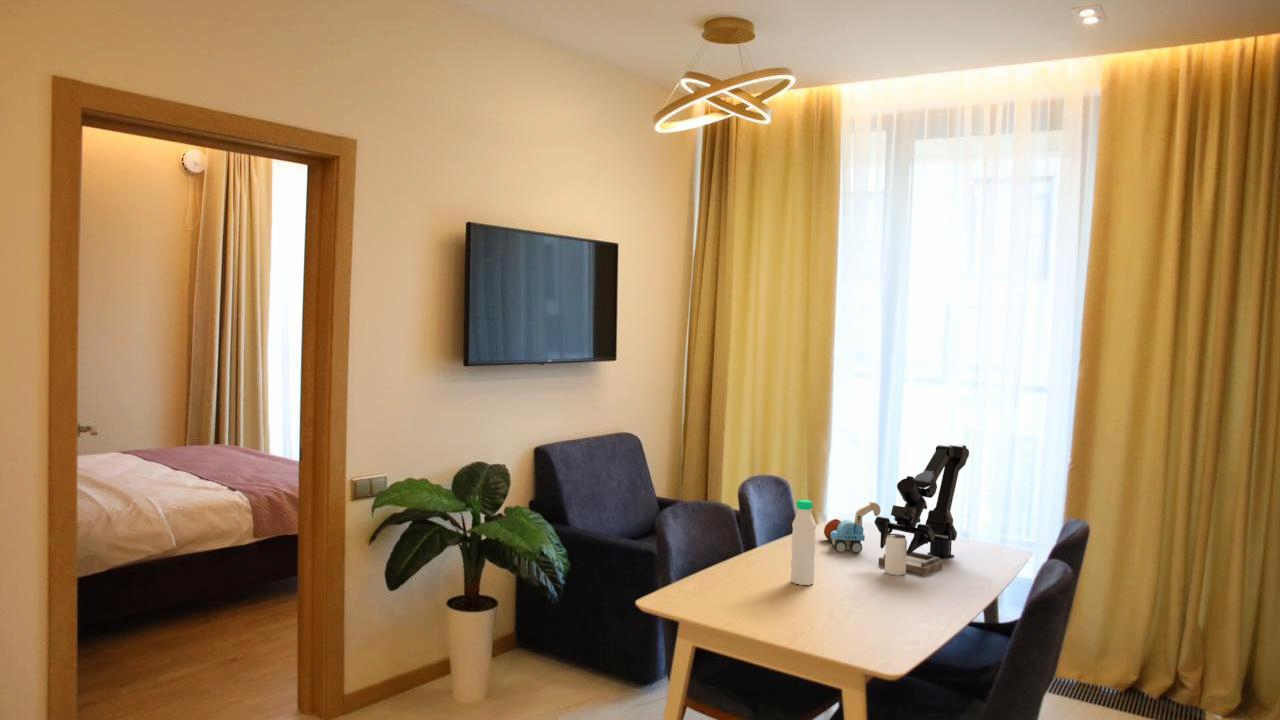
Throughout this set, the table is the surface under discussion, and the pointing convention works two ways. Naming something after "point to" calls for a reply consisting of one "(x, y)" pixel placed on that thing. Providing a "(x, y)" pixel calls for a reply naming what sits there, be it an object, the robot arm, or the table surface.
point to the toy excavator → (852, 531)
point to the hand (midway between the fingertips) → (894, 550)
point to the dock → (919, 563)
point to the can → (895, 554)
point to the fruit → (831, 528)
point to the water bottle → (803, 545)
